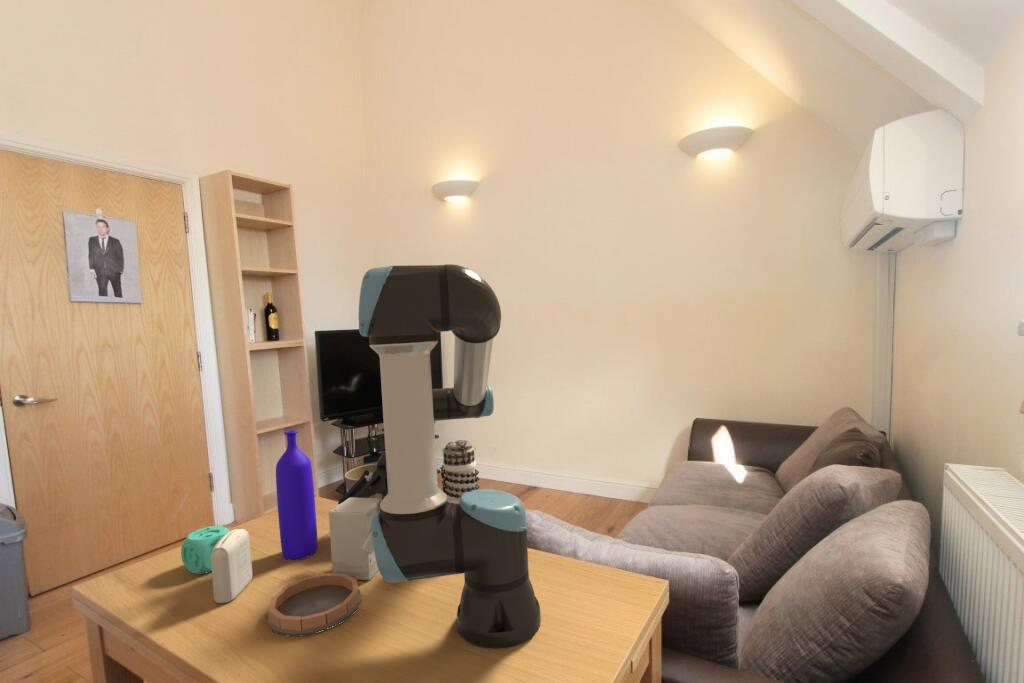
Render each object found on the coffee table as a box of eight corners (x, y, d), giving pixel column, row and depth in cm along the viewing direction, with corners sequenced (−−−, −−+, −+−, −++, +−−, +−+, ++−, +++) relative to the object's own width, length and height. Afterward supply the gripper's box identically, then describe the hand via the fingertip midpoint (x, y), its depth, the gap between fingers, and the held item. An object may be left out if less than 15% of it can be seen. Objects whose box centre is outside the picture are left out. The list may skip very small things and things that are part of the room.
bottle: (325, 549, 125) (316, 428, 123) (295, 563, 118) (285, 436, 116) (304, 542, 130) (295, 426, 128) (274, 556, 123) (264, 433, 121)
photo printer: (236, 578, 113) (231, 524, 112) (255, 577, 113) (251, 522, 112) (210, 605, 103) (205, 545, 102) (232, 603, 103) (227, 544, 102)
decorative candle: (440, 540, 127) (434, 441, 125) (474, 532, 130) (469, 436, 129) (451, 556, 118) (445, 450, 117) (488, 546, 122) (482, 444, 121)
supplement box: (369, 581, 109) (365, 513, 108) (331, 579, 110) (327, 511, 110) (388, 560, 117) (384, 497, 117) (352, 558, 119) (348, 496, 118)
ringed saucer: (378, 602, 100) (377, 588, 100) (294, 648, 87) (293, 633, 87) (332, 576, 111) (331, 564, 111) (252, 614, 99) (251, 600, 98)
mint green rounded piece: (215, 555, 125) (212, 523, 124) (236, 560, 121) (233, 528, 121) (182, 570, 118) (178, 537, 117) (203, 577, 114) (200, 542, 114)
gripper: (442, 471, 118) (395, 564, 107) (375, 458, 132) (327, 539, 121) (424, 455, 114) (373, 550, 102) (356, 443, 128) (305, 526, 116)
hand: (348, 545), depth 111 cm, fingers closed on supplement box, 11 cm apart
